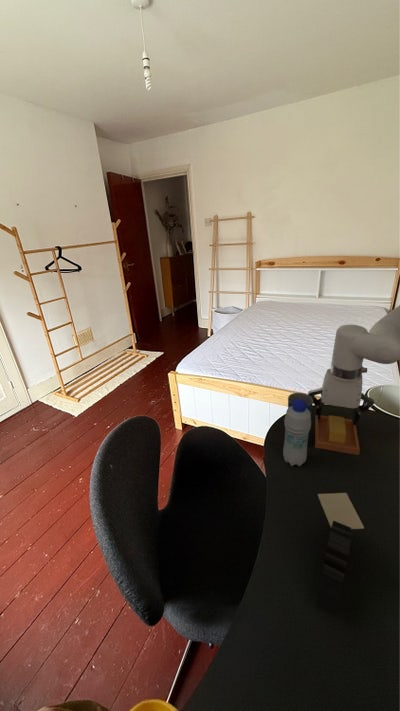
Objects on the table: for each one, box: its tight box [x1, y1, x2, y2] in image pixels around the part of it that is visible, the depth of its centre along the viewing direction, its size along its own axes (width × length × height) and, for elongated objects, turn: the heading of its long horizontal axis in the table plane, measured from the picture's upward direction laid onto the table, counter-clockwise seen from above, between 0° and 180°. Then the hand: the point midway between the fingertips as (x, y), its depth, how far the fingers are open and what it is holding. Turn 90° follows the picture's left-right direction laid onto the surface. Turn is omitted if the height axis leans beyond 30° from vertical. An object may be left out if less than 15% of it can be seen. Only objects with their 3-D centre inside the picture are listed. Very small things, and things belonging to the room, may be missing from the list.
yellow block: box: [327, 414, 346, 445], centre depth 90 cm, size 8×4×4 cm, turn 160°
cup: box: [287, 392, 314, 414], centre depth 87 cm, size 7×7×15 cm
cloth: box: [317, 492, 365, 530], centre depth 69 cm, size 7×9×1 cm
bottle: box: [282, 400, 312, 467], centre depth 79 cm, size 7×7×20 cm
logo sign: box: [314, 520, 353, 619], centre depth 56 cm, size 18×4×11 cm, turn 149°
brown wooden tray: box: [314, 414, 361, 456], centre depth 91 cm, size 14×12×2 cm
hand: (335, 419), depth 89 cm, fingers open, 9 cm apart
